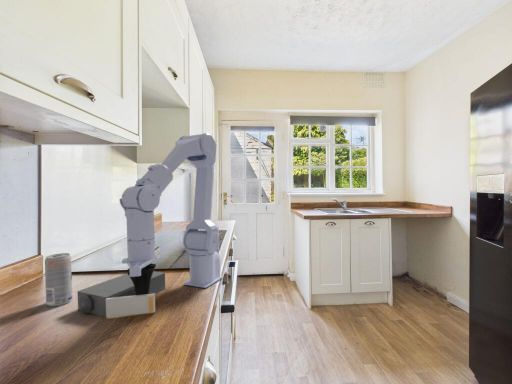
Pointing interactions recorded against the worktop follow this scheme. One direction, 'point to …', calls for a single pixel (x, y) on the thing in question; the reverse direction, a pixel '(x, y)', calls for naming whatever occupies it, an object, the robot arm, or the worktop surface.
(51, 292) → the energy drink
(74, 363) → the worktop surface
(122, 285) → the camera housing
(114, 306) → the door
